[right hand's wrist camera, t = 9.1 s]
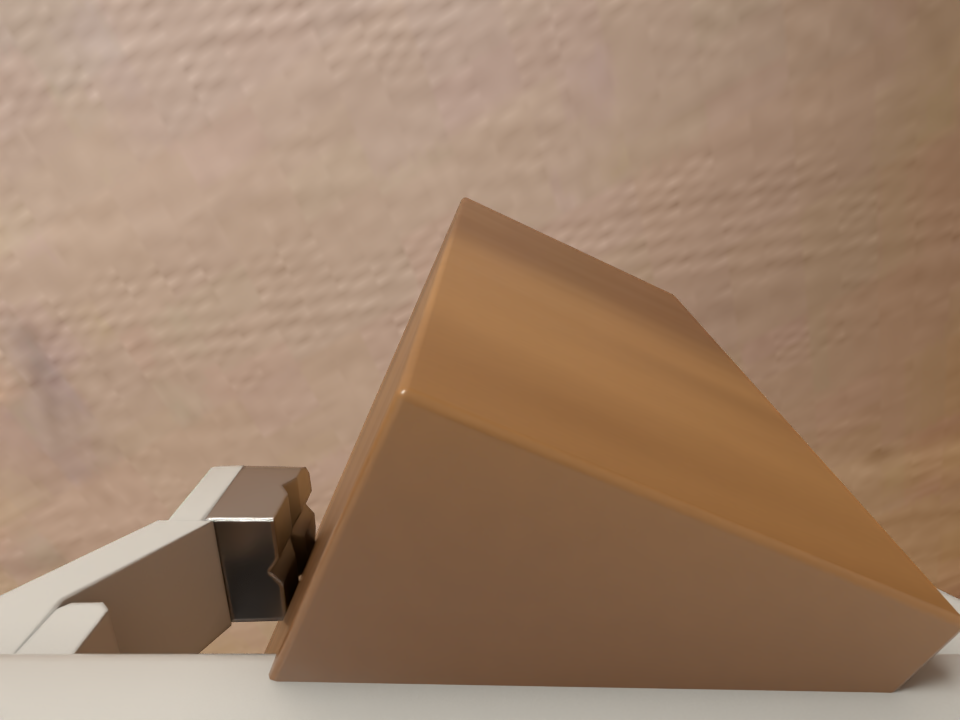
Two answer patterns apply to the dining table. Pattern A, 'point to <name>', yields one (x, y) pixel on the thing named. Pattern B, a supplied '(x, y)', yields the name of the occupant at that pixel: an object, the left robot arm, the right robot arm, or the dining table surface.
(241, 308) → the dining table surface
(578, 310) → the bar
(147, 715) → the right robot arm
